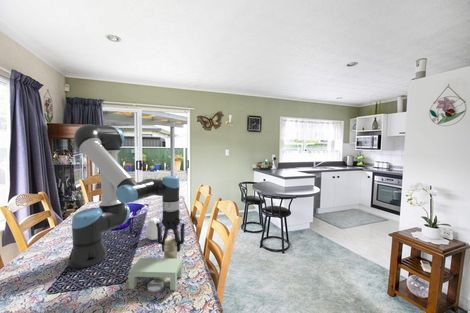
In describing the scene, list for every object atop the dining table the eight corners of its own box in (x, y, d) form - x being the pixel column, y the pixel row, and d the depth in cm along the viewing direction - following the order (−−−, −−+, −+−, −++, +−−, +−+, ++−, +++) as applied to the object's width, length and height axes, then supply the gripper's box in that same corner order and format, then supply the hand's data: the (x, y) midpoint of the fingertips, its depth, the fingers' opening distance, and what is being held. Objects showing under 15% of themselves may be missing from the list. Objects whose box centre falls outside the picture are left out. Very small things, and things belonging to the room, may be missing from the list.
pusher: (153, 281, 88) (153, 254, 87) (168, 258, 106) (168, 236, 105) (164, 281, 88) (164, 255, 87) (177, 258, 106) (177, 236, 105)
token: (144, 292, 82) (144, 288, 82) (151, 282, 88) (151, 279, 88) (160, 293, 82) (160, 289, 82) (166, 283, 88) (166, 279, 88)
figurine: (145, 243, 121) (145, 222, 121) (144, 237, 130) (143, 217, 129) (164, 240, 126) (163, 219, 125) (161, 234, 135) (161, 214, 134)
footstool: (128, 288, 84) (128, 271, 83) (140, 273, 94) (140, 257, 93) (175, 290, 83) (175, 272, 83) (182, 274, 93) (182, 258, 93)
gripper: (148, 211, 98) (149, 261, 100) (187, 212, 98) (187, 262, 100) (155, 206, 106) (155, 253, 107) (191, 207, 106) (191, 254, 107)
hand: (171, 257), depth 104 cm, fingers closed on pusher, 4 cm apart
